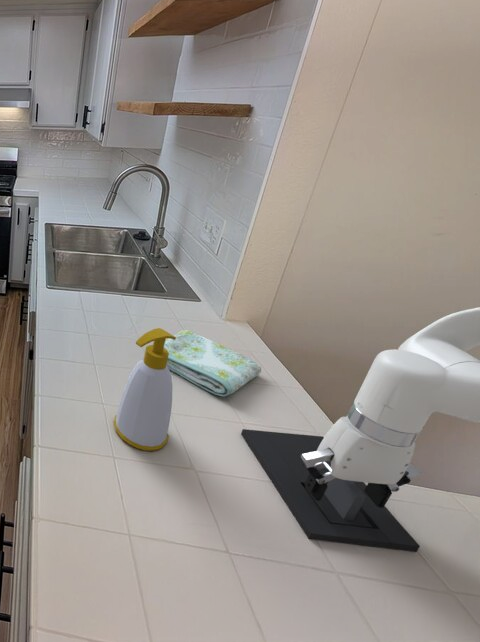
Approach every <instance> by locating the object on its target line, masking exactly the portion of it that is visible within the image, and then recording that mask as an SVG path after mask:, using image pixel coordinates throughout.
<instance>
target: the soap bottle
mask: <svg viewBox="0 0 480 642" xmlns="http://www.w3.org/2000/svg"><path fill="white" fill-rule="evenodd" d="M169 338H171V339H174V340H175V339H176V337H174V335H173V334H171V333H170V332H168V331H167V330H165V329H163V328H160V327H158V328H157V327H155V328H153V329H152V330H148V331H147V332H144V333H143V334H142V335H141V336H140V337H139V338H138V339H137V340H136V341H135V345H136V346H138V347H140V348H143V347H145V351H144V355H143V358H142V359H140V360H139V361H137V363H136V364H135V365H134V367H133V369H132V370H131V371H130V374H129V377H128V379H127V380H126V384H125V387H124V389H123V391H122V395H121V397H120V399H119V400H120V401H119V404H118V407H117V412H116V414H115V417H114V420H113V424H114V430H115V432H116V433H117V435H118V436H119V437H120V439H121V440H122V441H124V442H125V443H127V444H128V445H129V446H131V447H134V448H136V449H138V450H142V451H149V452H153V451H158V450H161V449H162V448H163V447H165V446H166V444H167V443H168V439H169V427H170V422H171V421H170V420H171V416H172V415H171V414H172V407H173V406H172V405H173V378H172V374H171V370H170V369H169V368H168V366H167V365H166V364H167V360H168V356H169V352H168V351H167V350H166V349H165V348H164V344H165V340H167V339H169ZM150 343H152V344H150ZM148 344H149V345H148ZM146 345H147V346H146Z"/></svg>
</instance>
